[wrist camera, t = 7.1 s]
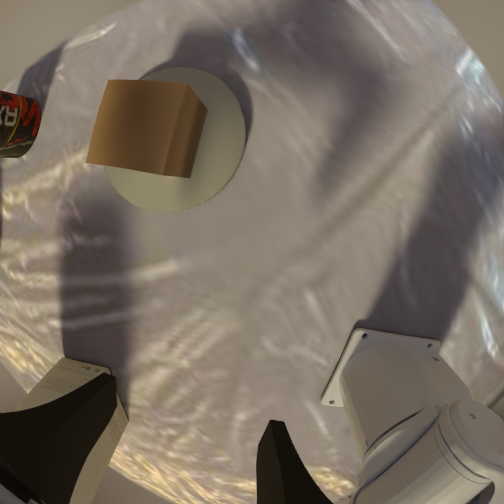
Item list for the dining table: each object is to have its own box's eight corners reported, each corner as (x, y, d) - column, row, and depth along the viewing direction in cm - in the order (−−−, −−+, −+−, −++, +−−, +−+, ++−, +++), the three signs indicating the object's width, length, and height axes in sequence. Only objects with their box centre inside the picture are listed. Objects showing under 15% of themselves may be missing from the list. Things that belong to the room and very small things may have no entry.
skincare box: (63, 354, 22) (-26, 445, 7) (113, 366, 22) (26, 487, 7) (86, 411, 24) (25, 501, 9) (133, 425, 24) (80, 533, 9)
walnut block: (208, 110, 16) (187, 83, 11) (190, 178, 17) (162, 175, 12) (145, 102, 16) (108, 79, 11) (128, 166, 17) (86, 162, 12)
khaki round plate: (258, 83, 17) (257, 72, 15) (232, 220, 19) (229, 224, 17) (130, 77, 17) (119, 69, 15) (106, 200, 19) (92, 202, 17)
